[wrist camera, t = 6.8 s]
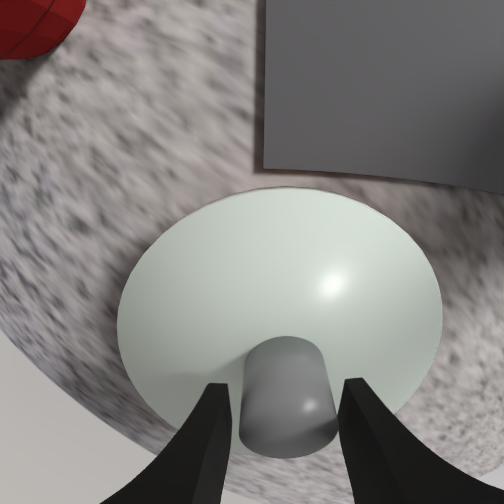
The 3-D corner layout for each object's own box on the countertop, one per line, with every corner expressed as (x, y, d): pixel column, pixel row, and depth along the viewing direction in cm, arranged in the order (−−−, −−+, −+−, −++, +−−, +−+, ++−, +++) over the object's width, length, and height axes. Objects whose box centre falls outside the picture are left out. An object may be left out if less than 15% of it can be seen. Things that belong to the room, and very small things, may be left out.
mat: (503, -24, 7) (507, -25, 7) (523, 198, 13) (528, 200, 12) (266, -94, 8) (266, -99, 7) (263, 167, 13) (263, 168, 13)
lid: (458, 193, 9) (531, 221, 6) (393, 432, 14) (412, 488, 10) (98, 195, 10) (25, 226, 6) (159, 438, 14) (142, 495, 10)
